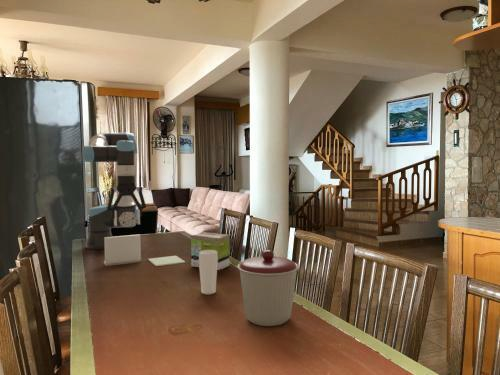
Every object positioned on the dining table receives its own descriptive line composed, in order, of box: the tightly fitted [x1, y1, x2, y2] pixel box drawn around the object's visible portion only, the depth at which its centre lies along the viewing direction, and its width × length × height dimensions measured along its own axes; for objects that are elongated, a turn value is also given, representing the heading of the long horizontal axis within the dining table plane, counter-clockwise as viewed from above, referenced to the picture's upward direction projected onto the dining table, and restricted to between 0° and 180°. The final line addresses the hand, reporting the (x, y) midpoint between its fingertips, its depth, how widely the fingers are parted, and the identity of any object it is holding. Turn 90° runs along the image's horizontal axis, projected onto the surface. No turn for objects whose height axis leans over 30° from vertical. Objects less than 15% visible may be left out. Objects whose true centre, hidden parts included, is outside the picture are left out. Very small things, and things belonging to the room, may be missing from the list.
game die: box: [117, 211, 138, 229], centre depth 178 cm, size 9×8×10 cm
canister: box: [237, 249, 299, 327], centre depth 117 cm, size 18×18×21 cm
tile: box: [147, 255, 186, 267], centre depth 190 cm, size 14×14×1 cm
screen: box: [103, 233, 142, 267], centre depth 187 cm, size 6×16×13 cm, turn 118°
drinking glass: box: [198, 250, 218, 295], centre depth 143 cm, size 7×7×15 cm
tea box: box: [190, 231, 230, 271], centre depth 180 cm, size 15×10×15 cm
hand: (127, 224), depth 178 cm, fingers closed on game die, 9 cm apart
